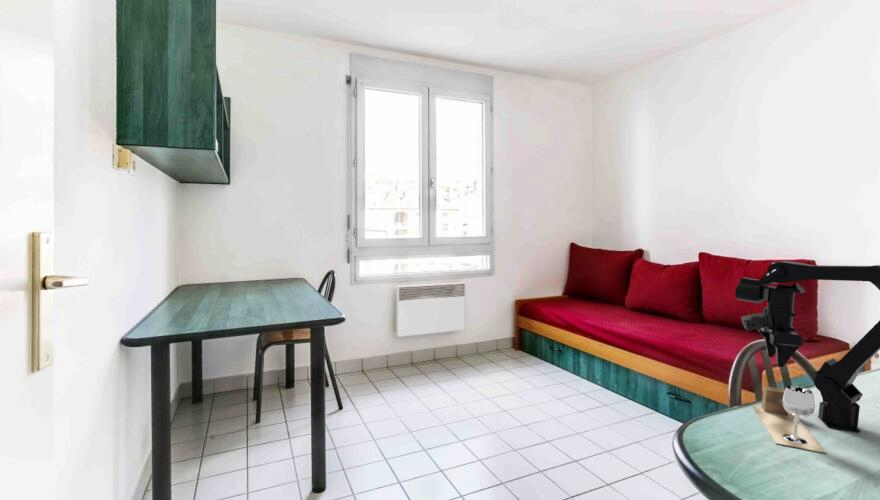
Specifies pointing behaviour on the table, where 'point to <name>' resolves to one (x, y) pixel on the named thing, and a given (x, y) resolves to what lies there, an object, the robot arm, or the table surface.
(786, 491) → the table surface
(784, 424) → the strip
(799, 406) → the wineglass
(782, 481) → the table surface
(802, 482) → the table surface
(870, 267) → the robot arm
